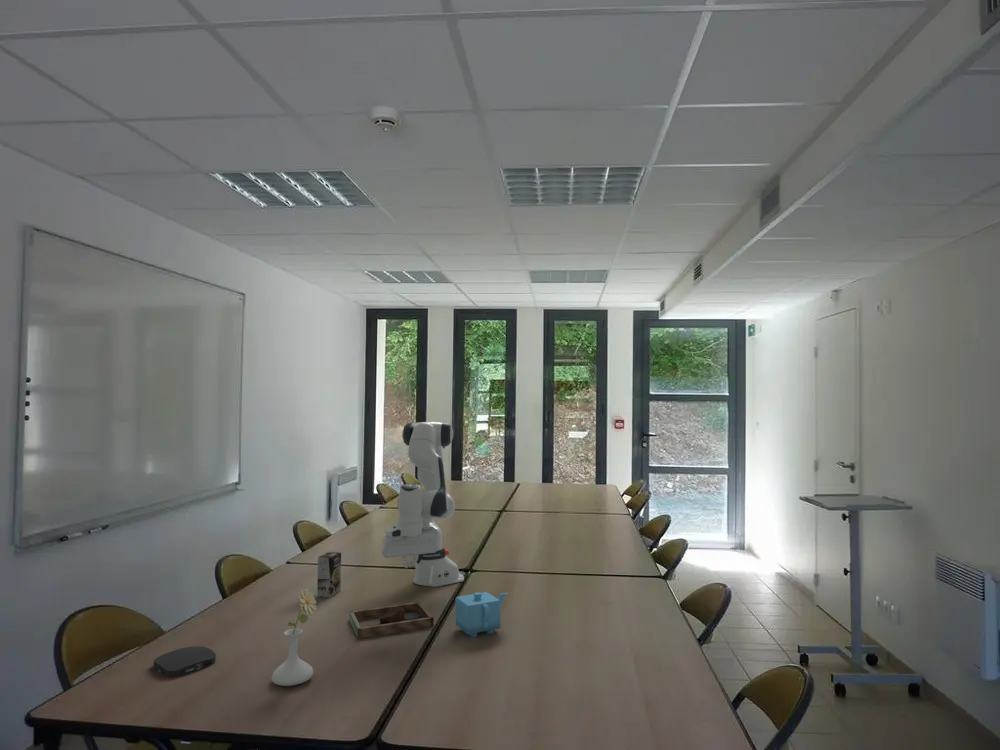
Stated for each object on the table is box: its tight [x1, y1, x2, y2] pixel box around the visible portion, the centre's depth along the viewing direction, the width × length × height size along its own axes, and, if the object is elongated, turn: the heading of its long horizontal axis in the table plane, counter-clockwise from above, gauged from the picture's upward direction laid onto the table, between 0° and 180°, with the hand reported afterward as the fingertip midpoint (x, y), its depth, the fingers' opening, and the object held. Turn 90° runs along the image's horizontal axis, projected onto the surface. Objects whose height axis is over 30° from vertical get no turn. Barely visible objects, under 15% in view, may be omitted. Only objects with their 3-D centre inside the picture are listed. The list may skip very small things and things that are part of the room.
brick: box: [379, 607, 405, 625], centre depth 213 cm, size 11×4×5 cm, turn 160°
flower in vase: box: [270, 588, 318, 687], centre depth 171 cm, size 13×11×25 cm
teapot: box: [455, 591, 509, 638], centre depth 208 cm, size 18×16×13 cm
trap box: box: [348, 601, 435, 639], centre depth 214 cm, size 26×18×3 cm
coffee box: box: [316, 551, 342, 598], centre depth 247 cm, size 9×6×16 cm
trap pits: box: [404, 611, 422, 621], centre depth 217 cm, size 6×14×1 cm, turn 23°
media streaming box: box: [153, 645, 216, 678], centre depth 181 cm, size 15×15×3 cm
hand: (410, 567), depth 217 cm, fingers closed
